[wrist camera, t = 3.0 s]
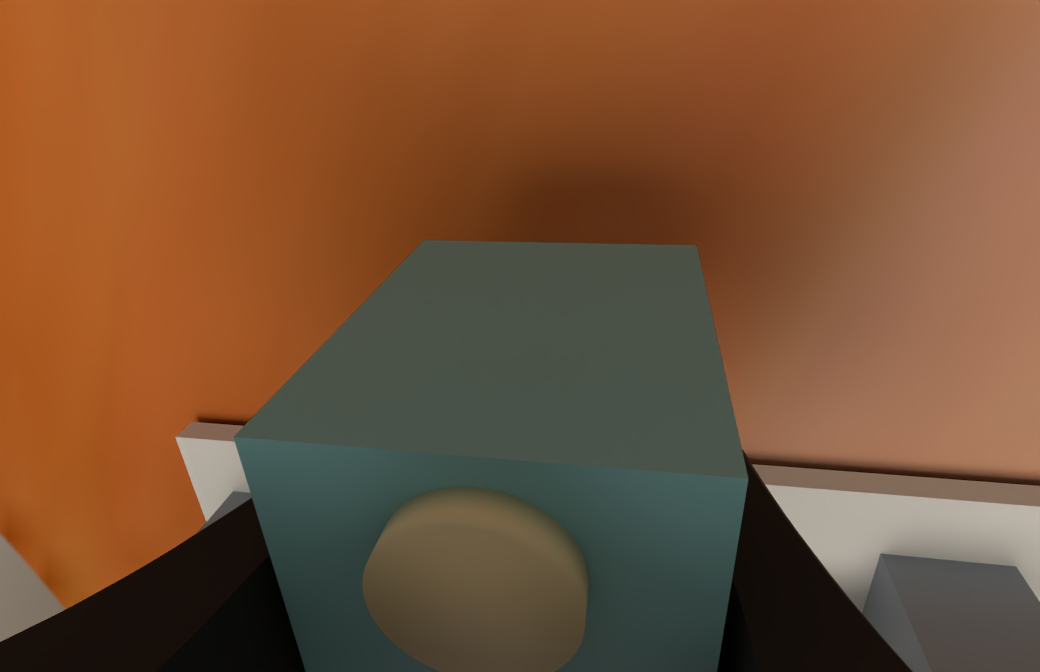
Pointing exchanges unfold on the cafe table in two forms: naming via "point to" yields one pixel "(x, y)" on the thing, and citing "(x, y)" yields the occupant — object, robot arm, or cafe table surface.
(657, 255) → the teal block
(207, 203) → the cafe table surface
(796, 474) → the shaft stand
